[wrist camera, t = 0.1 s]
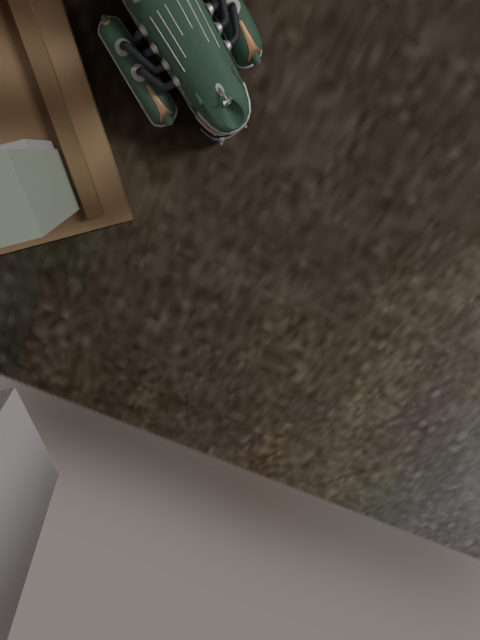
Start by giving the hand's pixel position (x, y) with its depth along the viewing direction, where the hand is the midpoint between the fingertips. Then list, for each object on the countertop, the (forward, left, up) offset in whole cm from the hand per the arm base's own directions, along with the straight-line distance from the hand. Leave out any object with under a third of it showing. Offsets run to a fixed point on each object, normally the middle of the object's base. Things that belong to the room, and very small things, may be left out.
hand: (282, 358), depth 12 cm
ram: (-5, -11, -26) cm, 29 cm away
